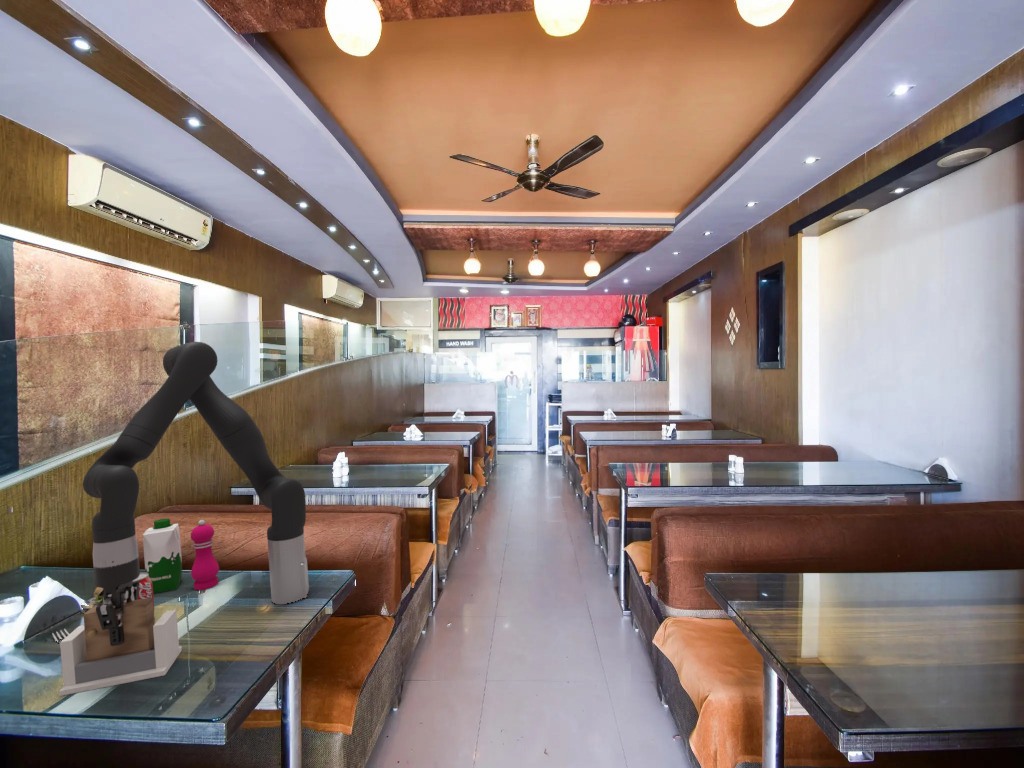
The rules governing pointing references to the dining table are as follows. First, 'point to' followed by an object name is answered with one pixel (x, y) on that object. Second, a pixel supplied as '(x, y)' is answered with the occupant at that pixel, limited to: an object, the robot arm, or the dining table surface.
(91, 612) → the door panel
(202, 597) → the dining table surface
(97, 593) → the burger
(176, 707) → the dining table surface
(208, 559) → the pepper mill
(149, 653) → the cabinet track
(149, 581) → the soda can
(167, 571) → the milk carton
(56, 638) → the fork
